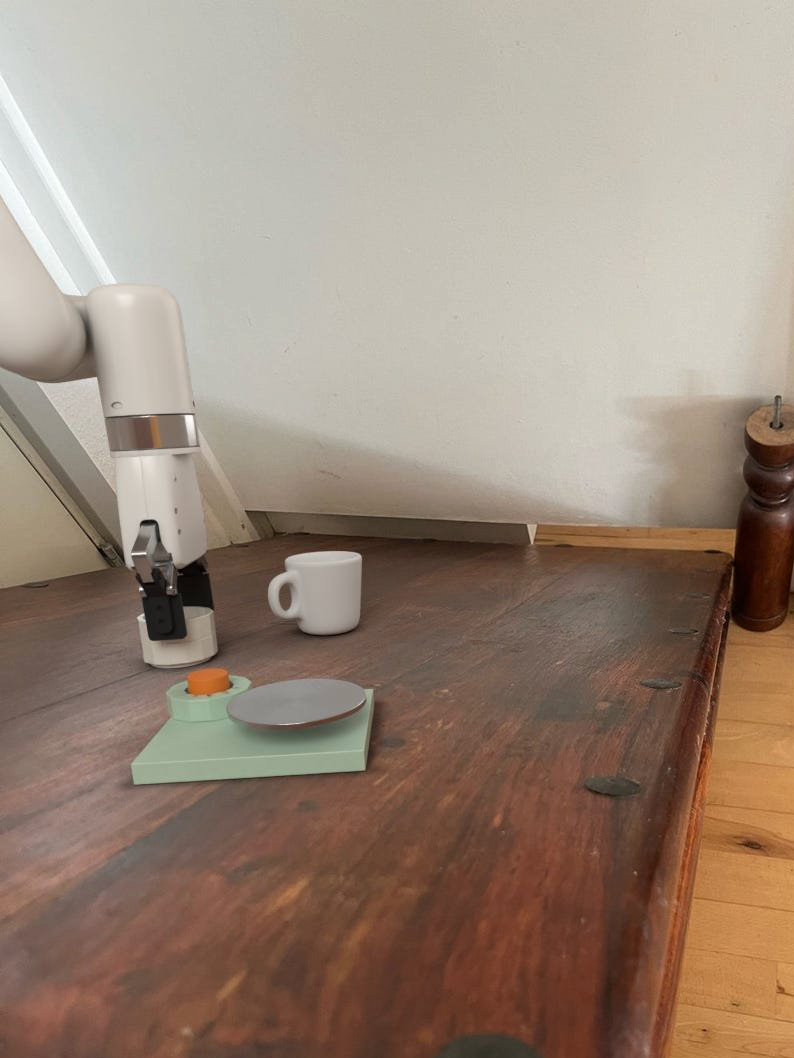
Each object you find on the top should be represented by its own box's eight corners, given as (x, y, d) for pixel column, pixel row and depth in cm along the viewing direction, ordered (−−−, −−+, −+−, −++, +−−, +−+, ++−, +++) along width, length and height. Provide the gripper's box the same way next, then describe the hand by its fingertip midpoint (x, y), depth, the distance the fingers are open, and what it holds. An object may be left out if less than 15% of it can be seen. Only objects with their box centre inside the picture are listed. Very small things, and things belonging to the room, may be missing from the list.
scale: (127, 785, 47) (120, 739, 46) (185, 714, 59) (179, 677, 58) (365, 771, 48) (362, 725, 47) (374, 704, 60) (372, 667, 59)
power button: (184, 699, 54) (181, 681, 54) (195, 686, 57) (192, 669, 56) (225, 697, 54) (222, 678, 54) (233, 684, 57) (231, 667, 57)
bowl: (133, 672, 70) (126, 624, 69) (156, 652, 76) (150, 607, 75) (207, 668, 70) (201, 620, 69) (225, 648, 77) (219, 604, 76)
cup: (297, 650, 76) (289, 569, 73) (253, 637, 81) (245, 562, 79) (381, 628, 83) (377, 554, 81) (336, 618, 88) (331, 548, 86)
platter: (211, 734, 46) (211, 728, 46) (243, 687, 55) (242, 682, 55) (362, 725, 47) (361, 719, 47) (369, 680, 56) (369, 675, 56)
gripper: (143, 439, 76) (171, 608, 81) (69, 442, 60) (108, 654, 64) (220, 435, 77) (243, 603, 81) (168, 437, 60) (200, 647, 65)
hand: (184, 625), depth 73 cm, fingers open, 9 cm apart
